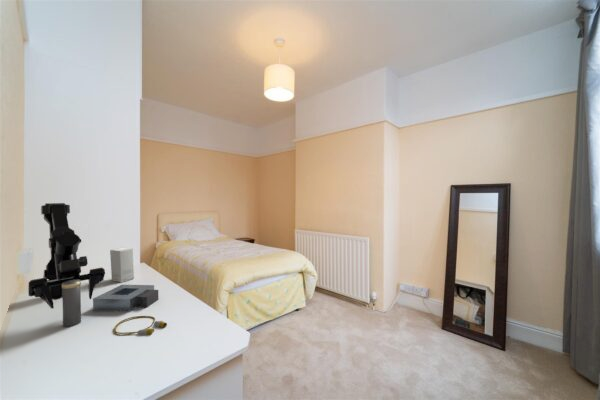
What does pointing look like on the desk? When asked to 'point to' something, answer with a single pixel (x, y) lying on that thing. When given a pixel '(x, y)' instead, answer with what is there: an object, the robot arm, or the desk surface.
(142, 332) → the extension cord
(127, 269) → the skincare box
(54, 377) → the desk surface
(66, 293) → the plug
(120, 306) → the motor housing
